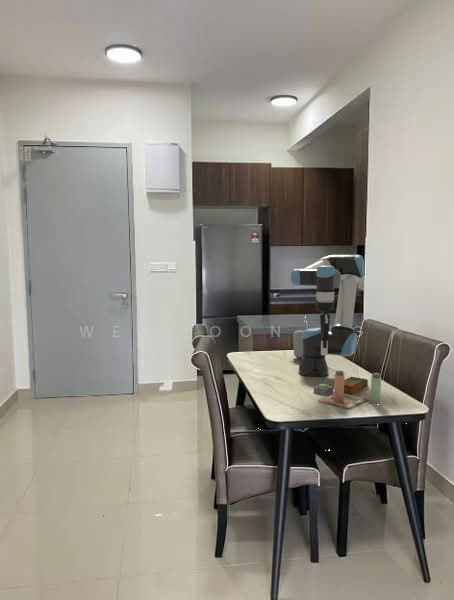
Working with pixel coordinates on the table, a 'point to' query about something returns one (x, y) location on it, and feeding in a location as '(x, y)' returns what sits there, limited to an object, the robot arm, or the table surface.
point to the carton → (354, 385)
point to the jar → (298, 341)
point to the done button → (323, 386)
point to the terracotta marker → (339, 387)
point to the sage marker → (375, 388)
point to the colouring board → (348, 402)
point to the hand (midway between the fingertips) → (324, 354)
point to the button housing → (323, 390)
